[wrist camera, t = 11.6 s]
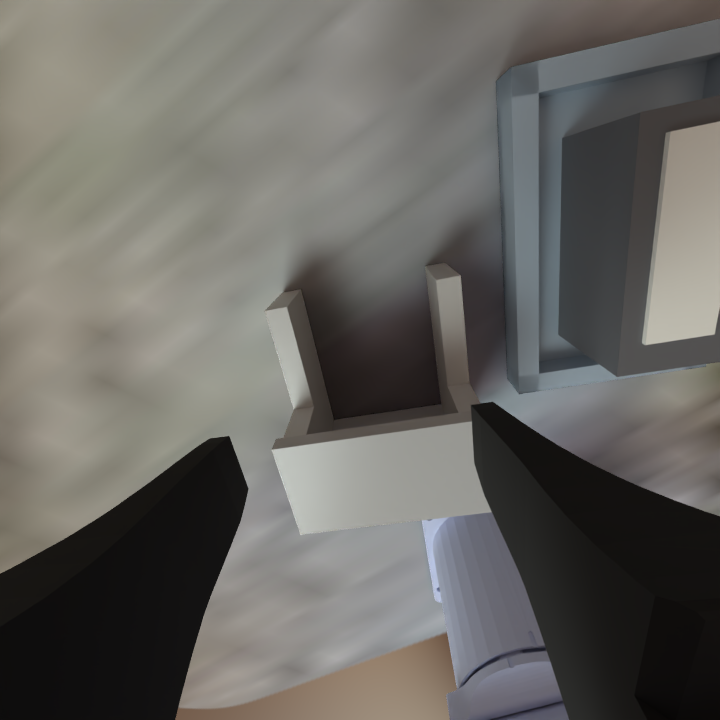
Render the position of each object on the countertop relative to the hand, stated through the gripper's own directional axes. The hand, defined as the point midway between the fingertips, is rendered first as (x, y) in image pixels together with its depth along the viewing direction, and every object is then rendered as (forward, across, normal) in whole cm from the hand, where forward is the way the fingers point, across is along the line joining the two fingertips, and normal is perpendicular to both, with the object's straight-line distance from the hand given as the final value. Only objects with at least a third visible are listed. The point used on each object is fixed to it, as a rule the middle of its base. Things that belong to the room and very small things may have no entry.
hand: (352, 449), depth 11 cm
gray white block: (+9, -12, -3) cm, 16 cm away
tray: (+10, -12, -3) cm, 16 cm away
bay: (+10, -1, +1) cm, 10 cm away
